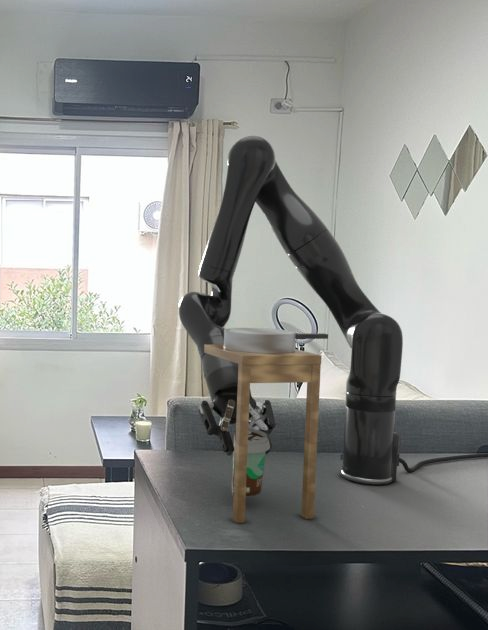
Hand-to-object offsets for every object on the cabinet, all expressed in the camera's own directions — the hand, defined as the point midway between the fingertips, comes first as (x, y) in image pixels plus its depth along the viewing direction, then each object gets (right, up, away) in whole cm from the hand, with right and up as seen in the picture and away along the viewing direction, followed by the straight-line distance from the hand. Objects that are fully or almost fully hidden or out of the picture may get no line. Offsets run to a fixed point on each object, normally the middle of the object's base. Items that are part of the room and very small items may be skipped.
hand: (249, 452), depth 133 cm
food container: (0, -7, -1) cm, 7 cm away
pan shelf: (+3, -9, -1) cm, 10 cm away
